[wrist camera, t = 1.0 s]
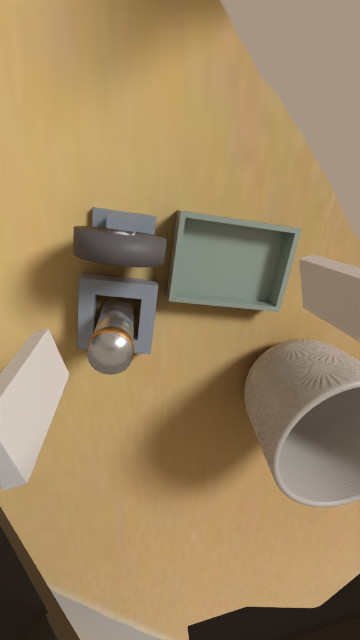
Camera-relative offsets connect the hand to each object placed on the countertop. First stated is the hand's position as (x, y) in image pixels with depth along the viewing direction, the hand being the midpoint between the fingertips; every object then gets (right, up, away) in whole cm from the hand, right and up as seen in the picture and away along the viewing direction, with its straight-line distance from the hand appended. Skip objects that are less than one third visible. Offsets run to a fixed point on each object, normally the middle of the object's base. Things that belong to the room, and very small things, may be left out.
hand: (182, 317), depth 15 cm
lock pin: (-8, +1, +23) cm, 24 cm away
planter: (+16, -8, +30) cm, 35 cm away
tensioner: (-8, +4, +21) cm, 23 cm away
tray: (+6, +7, +22) cm, 24 cm away
